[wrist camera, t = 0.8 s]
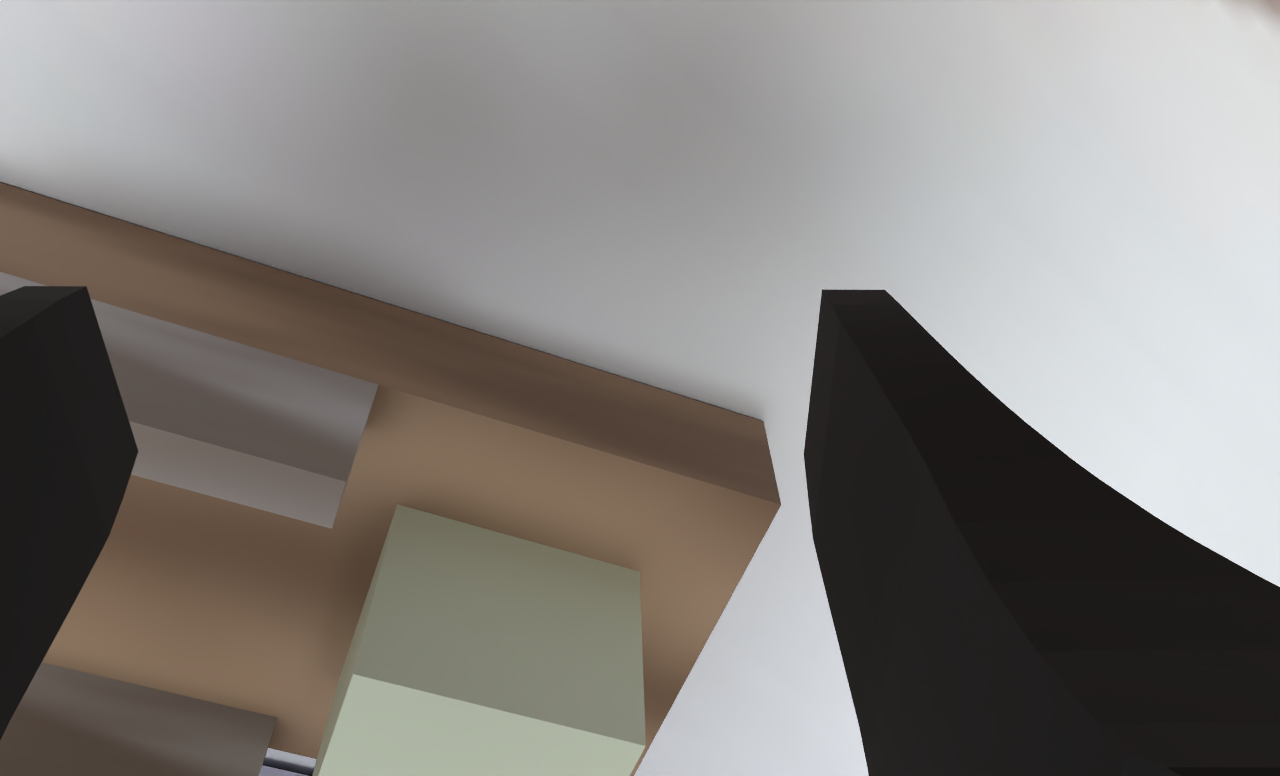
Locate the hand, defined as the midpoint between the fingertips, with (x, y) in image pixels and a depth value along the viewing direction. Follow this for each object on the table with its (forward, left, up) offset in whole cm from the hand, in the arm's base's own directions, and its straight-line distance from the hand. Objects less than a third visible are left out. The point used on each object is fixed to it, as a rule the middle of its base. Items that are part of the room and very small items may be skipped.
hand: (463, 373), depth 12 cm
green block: (-11, -3, -8) cm, 13 cm away
